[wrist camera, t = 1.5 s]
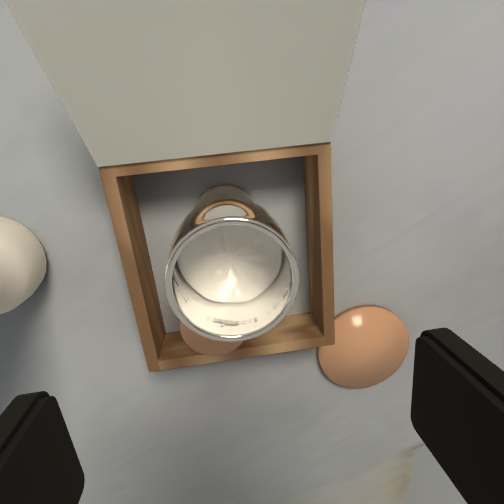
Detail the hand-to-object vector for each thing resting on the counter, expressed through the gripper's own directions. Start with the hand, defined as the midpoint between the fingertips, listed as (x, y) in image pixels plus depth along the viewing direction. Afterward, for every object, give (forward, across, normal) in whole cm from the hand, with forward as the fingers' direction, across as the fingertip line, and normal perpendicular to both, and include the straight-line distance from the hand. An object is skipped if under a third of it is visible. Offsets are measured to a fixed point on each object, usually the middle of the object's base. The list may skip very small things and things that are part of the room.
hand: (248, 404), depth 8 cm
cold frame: (+23, 0, +3) cm, 23 cm away
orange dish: (+22, -13, +16) cm, 31 cm away
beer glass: (+23, 0, 0) cm, 23 cm away
